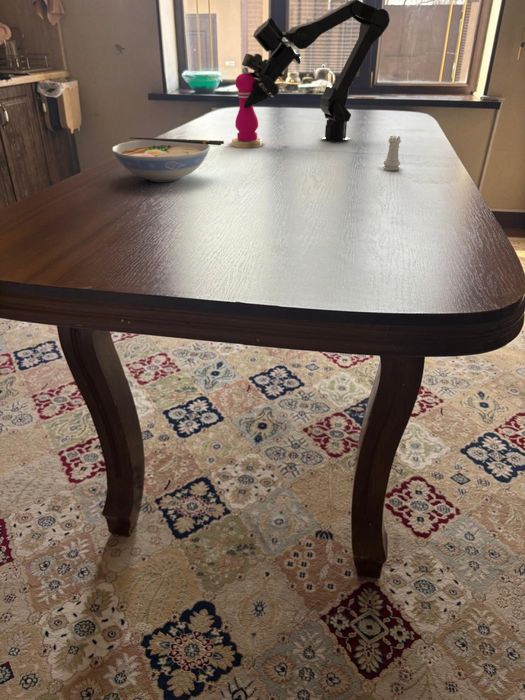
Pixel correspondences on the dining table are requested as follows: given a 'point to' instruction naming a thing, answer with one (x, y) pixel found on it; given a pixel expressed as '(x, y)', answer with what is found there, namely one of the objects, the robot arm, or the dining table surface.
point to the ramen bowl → (163, 157)
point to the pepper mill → (246, 116)
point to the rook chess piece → (392, 155)
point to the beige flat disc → (246, 143)
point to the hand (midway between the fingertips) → (242, 106)
